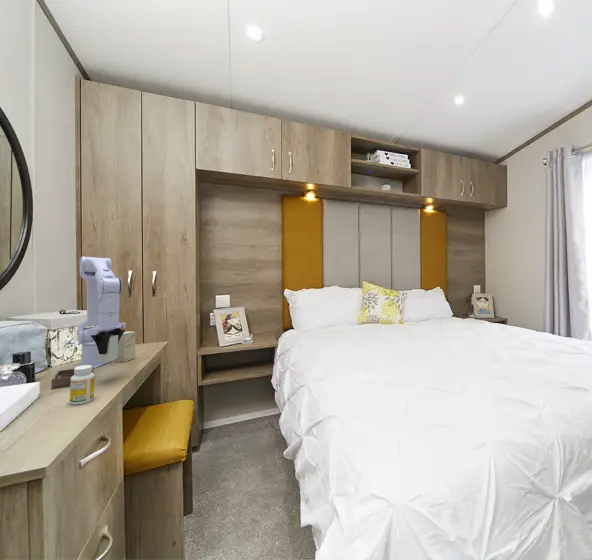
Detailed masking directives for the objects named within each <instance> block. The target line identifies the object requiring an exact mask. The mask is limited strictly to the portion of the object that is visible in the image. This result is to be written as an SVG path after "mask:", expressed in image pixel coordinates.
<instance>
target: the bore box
mask: <svg viewBox="0 0 592 560" xmlns="http://www.w3.org/2000/svg"><path fill="white" fill-rule="evenodd" d="M94 371H95V368H94V366H92V371H91V372H92V373H94V374H95V372H94ZM73 375H75V374H74V368H70V369H69V368H68V369H62V370H56V372H55V374H54V375H53V378H52V379H51V390H55V389H56V388H57V389H61V387H63V388H68V387H67V386H69V387H70V383H71V377H72V376H73Z"/></svg>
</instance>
